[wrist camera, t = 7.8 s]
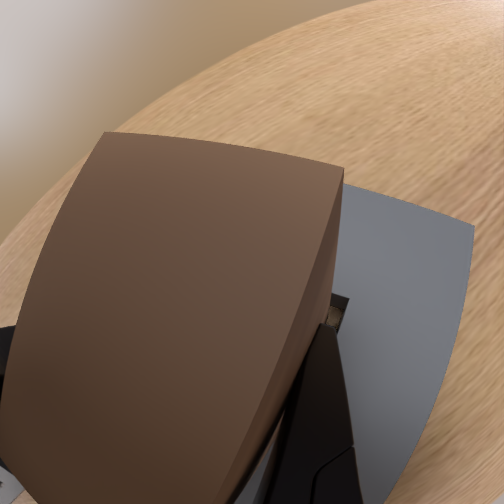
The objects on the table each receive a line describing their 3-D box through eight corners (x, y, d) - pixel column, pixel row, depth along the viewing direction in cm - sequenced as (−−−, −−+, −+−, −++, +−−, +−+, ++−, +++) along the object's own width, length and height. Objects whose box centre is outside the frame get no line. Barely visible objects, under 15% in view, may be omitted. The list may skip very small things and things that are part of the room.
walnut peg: (288, 416, 12) (158, 594, 1) (230, 392, 13) (-4, 452, 2) (327, 318, 13) (343, 168, 2) (268, 298, 14) (105, 132, 3)
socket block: (343, 520, 10) (345, 554, 7) (125, 423, 15) (88, 432, 12) (448, 250, 14) (474, 226, 11) (221, 185, 18) (200, 153, 15)
